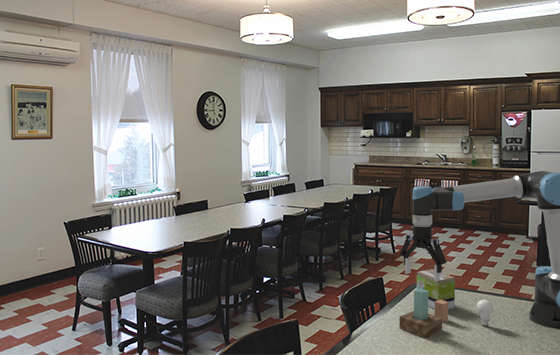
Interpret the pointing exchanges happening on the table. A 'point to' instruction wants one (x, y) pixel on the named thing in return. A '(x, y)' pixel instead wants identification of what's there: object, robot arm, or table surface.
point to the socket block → (420, 324)
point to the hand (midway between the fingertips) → (422, 276)
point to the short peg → (441, 309)
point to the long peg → (421, 304)
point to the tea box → (437, 287)
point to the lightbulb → (484, 310)
